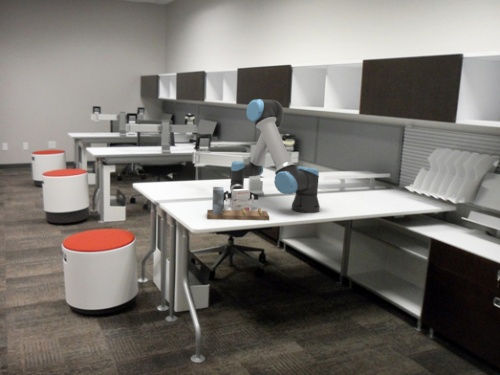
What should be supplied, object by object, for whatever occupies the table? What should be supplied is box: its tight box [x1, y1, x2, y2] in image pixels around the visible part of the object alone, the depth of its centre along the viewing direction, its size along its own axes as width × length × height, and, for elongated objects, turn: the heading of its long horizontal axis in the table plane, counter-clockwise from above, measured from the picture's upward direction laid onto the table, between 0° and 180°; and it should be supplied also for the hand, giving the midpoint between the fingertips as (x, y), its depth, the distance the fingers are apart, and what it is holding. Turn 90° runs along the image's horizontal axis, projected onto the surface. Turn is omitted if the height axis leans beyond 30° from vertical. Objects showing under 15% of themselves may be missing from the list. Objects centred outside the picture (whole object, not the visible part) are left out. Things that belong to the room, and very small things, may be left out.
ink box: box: [230, 188, 251, 211], centre depth 246 cm, size 9×5×12 cm, turn 118°
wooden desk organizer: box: [206, 186, 270, 221], centre depth 234 cm, size 30×11×14 cm, turn 95°
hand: (240, 199), depth 245 cm, fingers open, 13 cm apart
